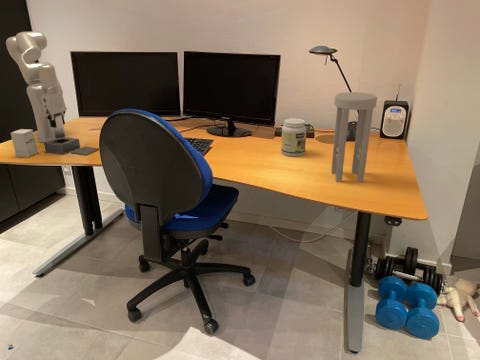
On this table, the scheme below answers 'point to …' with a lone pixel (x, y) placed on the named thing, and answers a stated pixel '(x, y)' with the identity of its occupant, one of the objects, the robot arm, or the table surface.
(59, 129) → the cover plug
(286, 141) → the supplement tub
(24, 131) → the supplement box
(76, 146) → the housing
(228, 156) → the table surface
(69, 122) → the table surface
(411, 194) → the table surface
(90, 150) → the mat
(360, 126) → the stool
